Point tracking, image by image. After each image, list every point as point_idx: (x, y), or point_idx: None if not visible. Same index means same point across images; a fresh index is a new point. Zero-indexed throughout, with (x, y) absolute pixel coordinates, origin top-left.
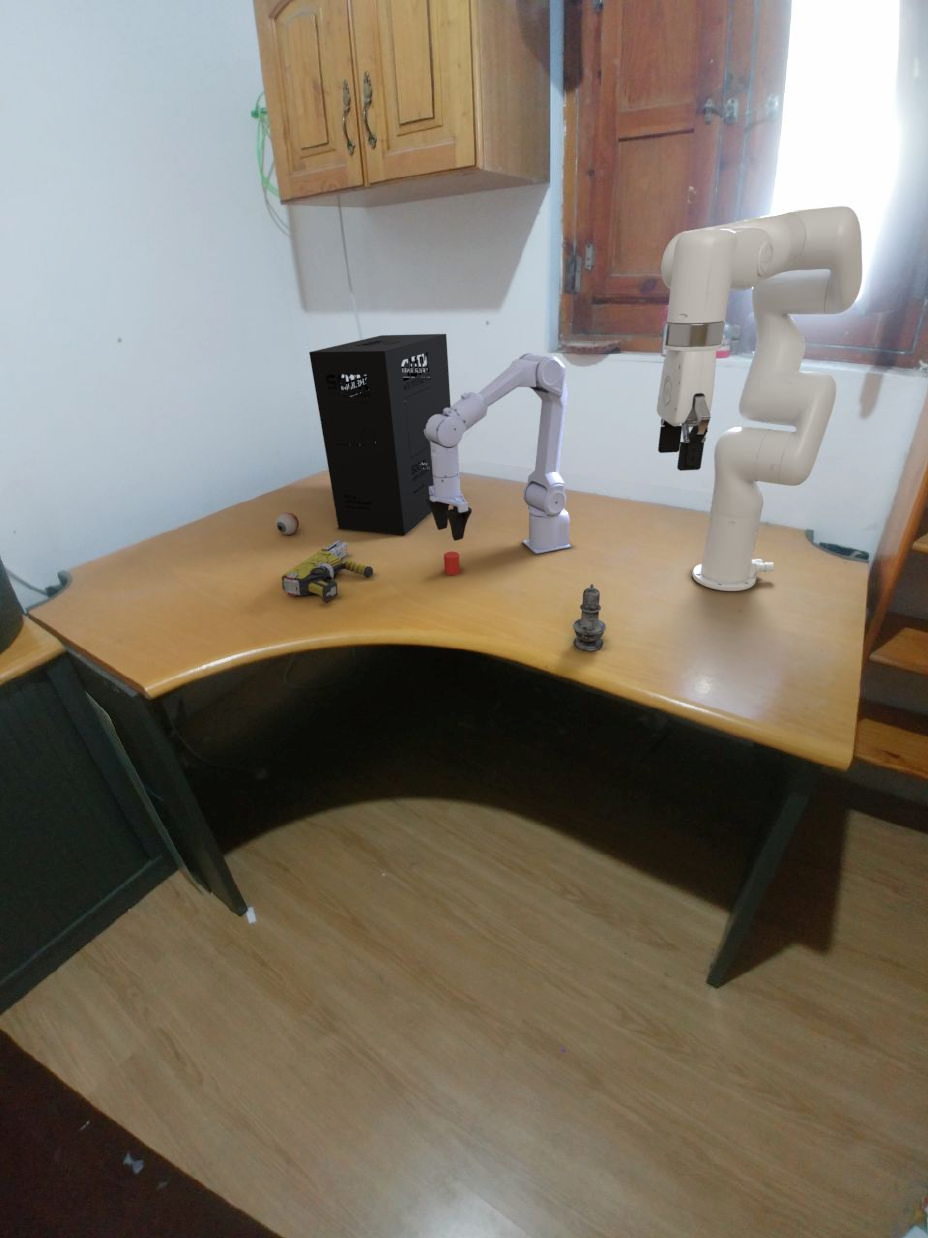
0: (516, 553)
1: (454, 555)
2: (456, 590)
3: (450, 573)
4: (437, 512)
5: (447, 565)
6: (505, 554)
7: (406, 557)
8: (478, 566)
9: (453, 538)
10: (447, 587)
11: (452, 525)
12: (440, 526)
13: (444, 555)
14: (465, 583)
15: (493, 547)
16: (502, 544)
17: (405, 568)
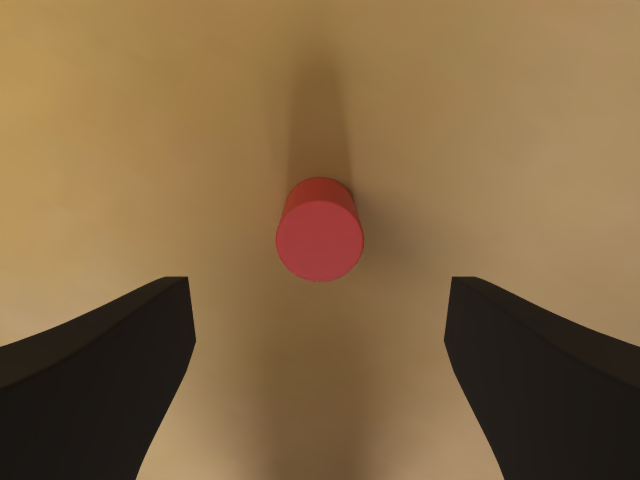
0: (322, 473)
1: (296, 250)
2: (133, 135)
3: (293, 190)
4: (541, 385)
5: (302, 192)
6: (339, 444)
7: (628, 95)
8: (304, 323)
9: (171, 278)
10: (182, 113)
11: (28, 338)
12: (458, 304)
13: (331, 205)
14: (181, 203)
15: (423, 442)
16: (424, 475)
17: (513, 24)
